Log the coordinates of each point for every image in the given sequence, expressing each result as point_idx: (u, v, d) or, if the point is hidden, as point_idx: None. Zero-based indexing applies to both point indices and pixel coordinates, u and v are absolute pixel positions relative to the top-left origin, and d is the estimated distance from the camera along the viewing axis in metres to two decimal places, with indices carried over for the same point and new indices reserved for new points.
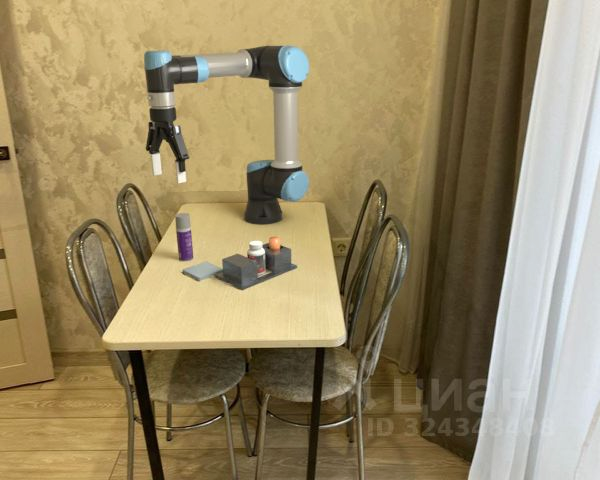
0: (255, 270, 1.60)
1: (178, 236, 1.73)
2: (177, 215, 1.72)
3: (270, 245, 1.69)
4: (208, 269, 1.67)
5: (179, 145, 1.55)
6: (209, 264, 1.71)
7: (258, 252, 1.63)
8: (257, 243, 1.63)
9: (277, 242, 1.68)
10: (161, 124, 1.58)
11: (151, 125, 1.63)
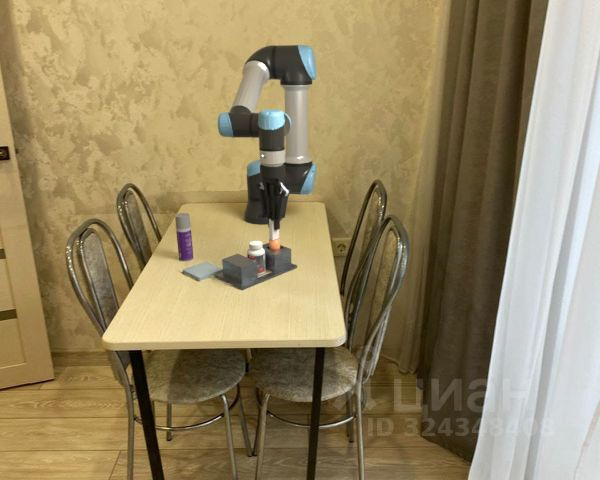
0: (255, 270, 1.60)
1: (178, 236, 1.73)
2: (177, 215, 1.72)
3: (270, 245, 1.69)
4: (208, 269, 1.67)
5: (281, 207, 1.61)
6: (209, 264, 1.71)
7: (258, 252, 1.63)
8: (257, 243, 1.63)
9: (277, 242, 1.68)
10: (271, 180, 1.61)
11: (259, 185, 1.66)
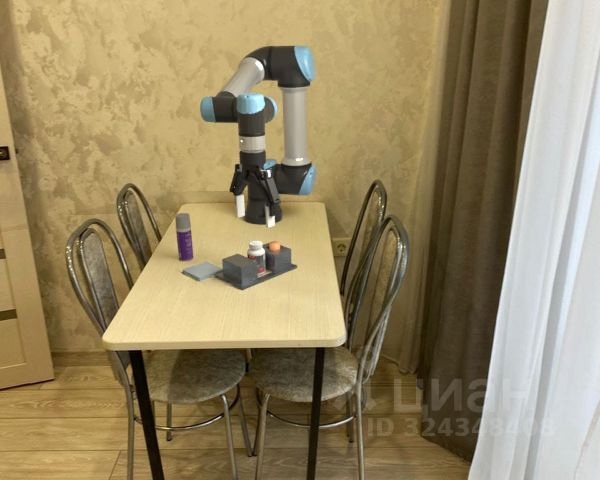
0: (255, 270, 1.60)
1: (178, 236, 1.73)
2: (177, 215, 1.72)
3: None
4: (208, 269, 1.67)
5: (271, 190, 1.51)
6: (209, 264, 1.71)
7: (258, 252, 1.63)
8: (257, 243, 1.63)
9: (277, 246, 1.68)
10: (251, 167, 1.55)
11: (238, 167, 1.59)
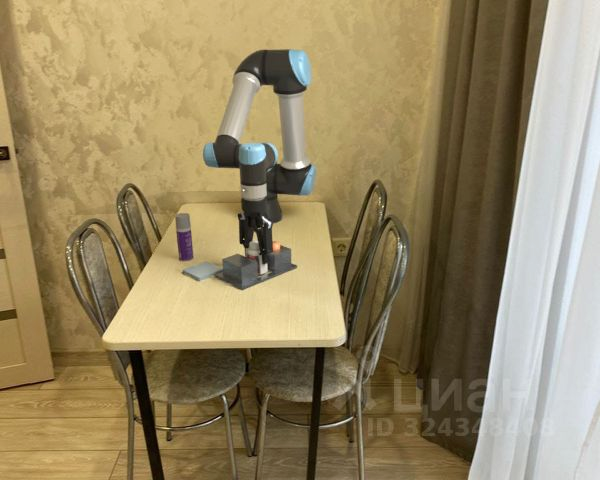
0: (255, 270, 1.60)
1: (178, 236, 1.73)
2: (177, 215, 1.72)
3: None
4: (208, 269, 1.67)
5: (267, 241, 1.58)
6: (209, 264, 1.71)
7: (258, 252, 1.63)
8: (257, 243, 1.63)
9: (277, 246, 1.68)
10: (252, 214, 1.59)
11: (240, 216, 1.64)
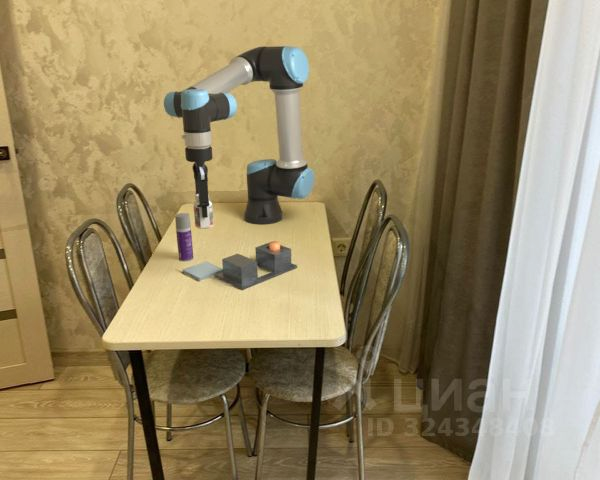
0: (255, 270, 1.60)
1: (178, 236, 1.73)
2: (177, 215, 1.72)
3: None
4: (208, 269, 1.67)
5: (200, 192, 1.52)
6: (209, 264, 1.71)
7: None
8: None
9: (277, 246, 1.68)
10: (195, 163, 1.55)
11: (195, 166, 1.61)
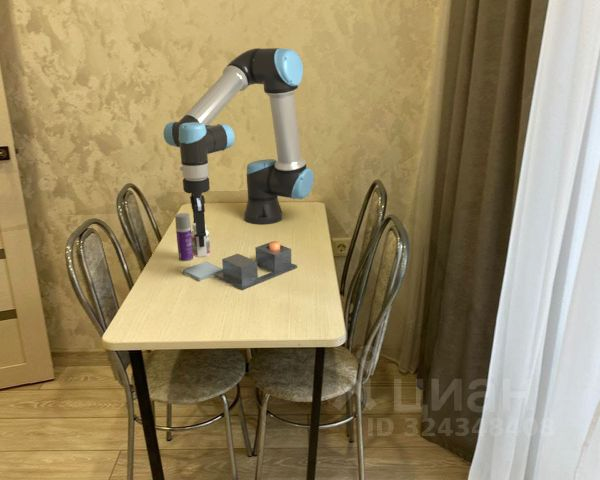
0: (255, 270, 1.60)
1: (178, 236, 1.73)
2: (177, 215, 1.72)
3: None
4: (208, 269, 1.67)
5: (197, 223, 1.55)
6: (209, 264, 1.71)
7: None
8: None
9: (277, 246, 1.68)
10: (193, 194, 1.58)
11: (192, 195, 1.64)
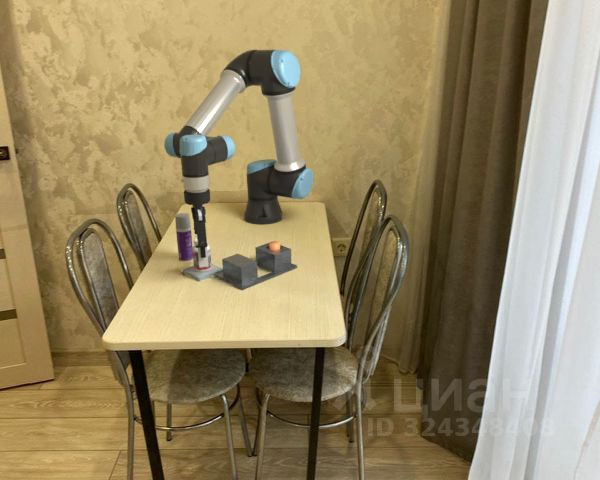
0: (255, 270, 1.60)
1: (178, 236, 1.73)
2: (177, 215, 1.72)
3: None
4: None
5: (199, 233, 1.55)
6: None
7: None
8: None
9: (277, 246, 1.68)
10: (194, 205, 1.59)
11: (193, 205, 1.65)
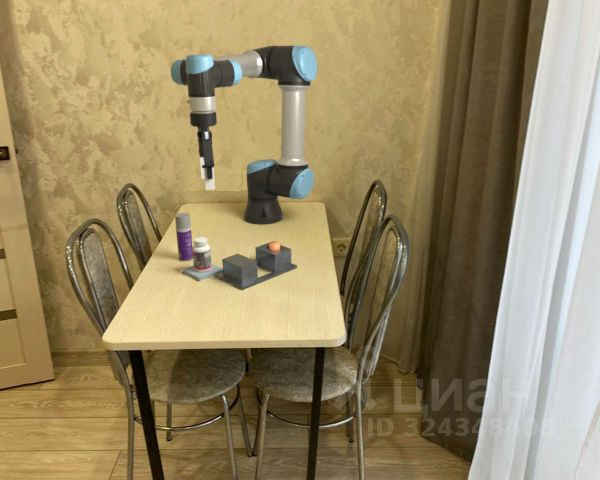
0: (255, 270, 1.60)
1: (178, 236, 1.73)
2: (177, 215, 1.72)
3: None
4: None
5: (205, 151, 1.51)
6: None
7: (198, 249, 1.63)
8: (200, 240, 1.63)
9: (277, 246, 1.68)
10: (200, 128, 1.57)
11: (199, 128, 1.63)
